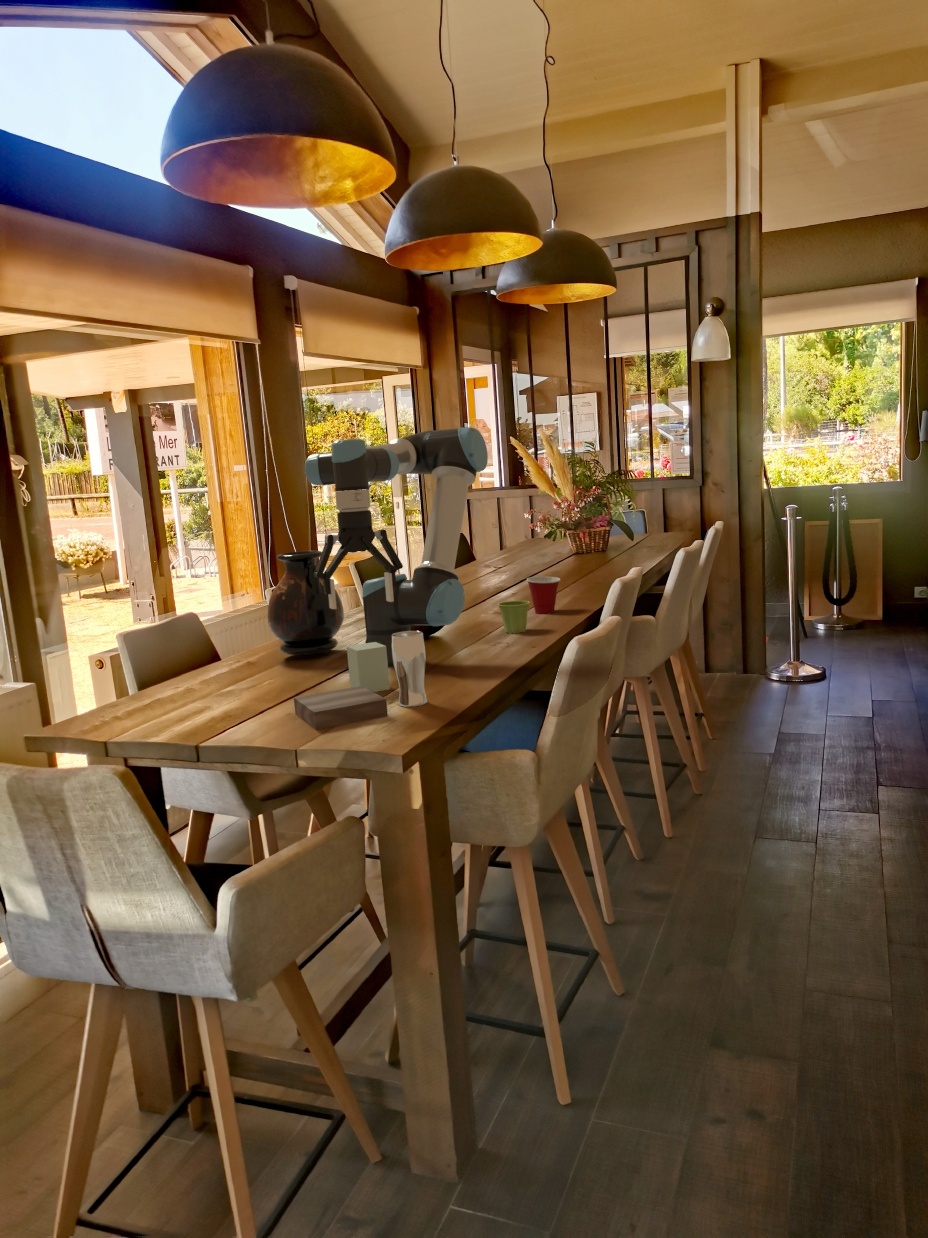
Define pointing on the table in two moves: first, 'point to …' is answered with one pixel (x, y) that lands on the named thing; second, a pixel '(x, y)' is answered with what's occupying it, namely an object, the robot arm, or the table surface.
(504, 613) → the plant pot
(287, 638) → the amphora vase
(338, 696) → the walnut block
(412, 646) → the beer glass
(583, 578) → the table surface
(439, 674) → the table surface
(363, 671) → the sage block
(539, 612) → the plastic cup
